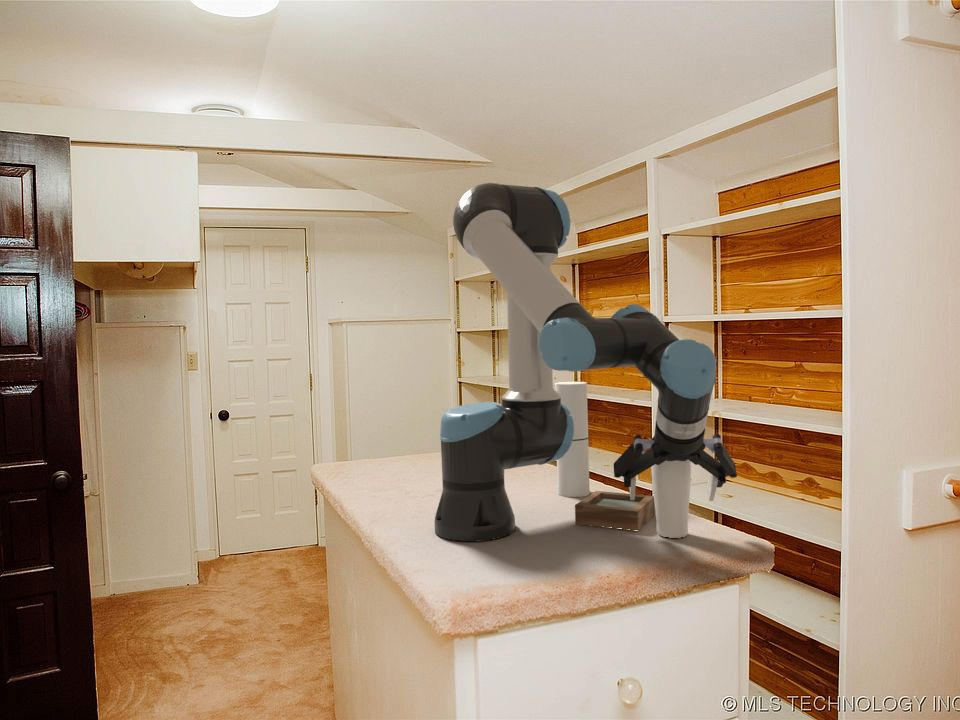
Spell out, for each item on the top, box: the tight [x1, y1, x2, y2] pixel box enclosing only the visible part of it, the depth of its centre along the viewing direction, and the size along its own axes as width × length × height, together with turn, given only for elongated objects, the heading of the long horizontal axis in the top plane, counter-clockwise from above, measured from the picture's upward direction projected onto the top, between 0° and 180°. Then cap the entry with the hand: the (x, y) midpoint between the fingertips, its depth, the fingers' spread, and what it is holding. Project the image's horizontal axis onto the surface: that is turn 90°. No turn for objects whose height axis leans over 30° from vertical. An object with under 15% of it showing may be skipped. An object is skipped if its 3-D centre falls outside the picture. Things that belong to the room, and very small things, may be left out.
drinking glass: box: [650, 460, 692, 539], centre depth 117 cm, size 7×7×15 cm
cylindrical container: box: [554, 381, 591, 498], centre depth 149 cm, size 7×7×25 cm
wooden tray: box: [574, 490, 656, 531], centre depth 128 cm, size 12×12×4 cm
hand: (670, 494), depth 119 cm, fingers open, 13 cm apart
